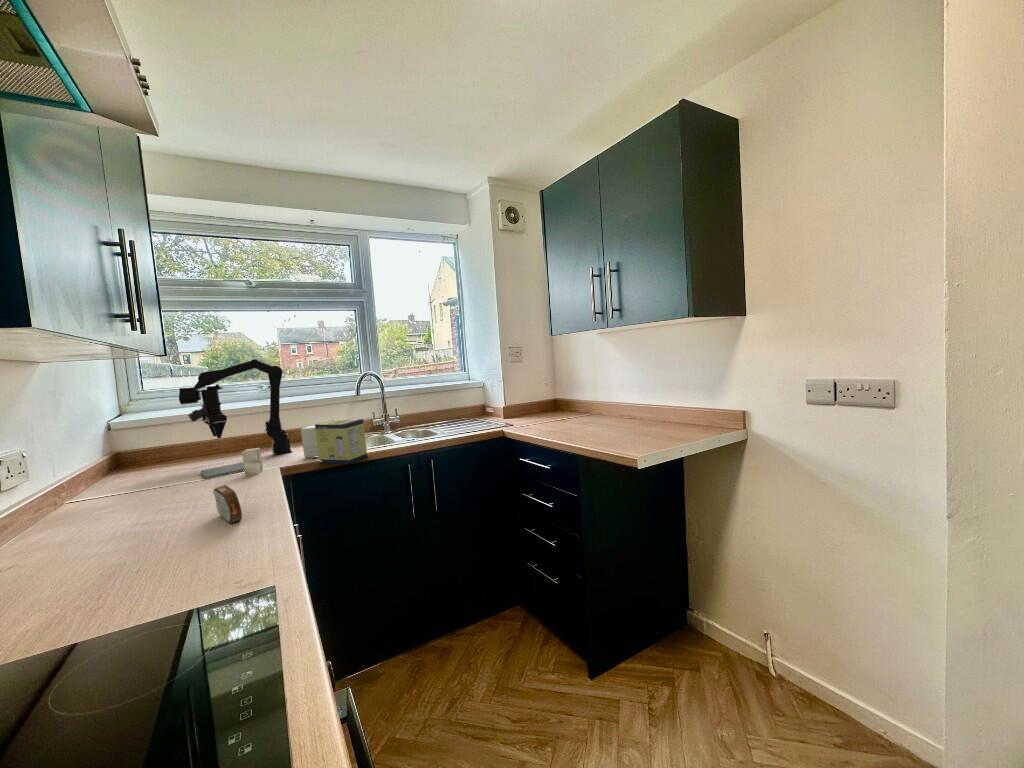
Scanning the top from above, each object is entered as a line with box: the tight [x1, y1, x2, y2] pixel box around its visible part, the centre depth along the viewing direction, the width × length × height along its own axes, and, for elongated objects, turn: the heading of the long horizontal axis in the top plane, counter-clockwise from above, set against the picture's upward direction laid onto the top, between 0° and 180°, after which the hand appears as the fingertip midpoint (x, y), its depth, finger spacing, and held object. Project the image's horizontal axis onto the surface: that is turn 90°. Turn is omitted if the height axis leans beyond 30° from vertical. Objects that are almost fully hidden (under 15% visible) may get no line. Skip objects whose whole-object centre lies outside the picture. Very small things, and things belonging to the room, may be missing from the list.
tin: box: [213, 484, 243, 524], centre depth 113 cm, size 15×3×8 cm, turn 47°
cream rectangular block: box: [241, 447, 264, 476], centre depth 160 cm, size 4×4×9 cm
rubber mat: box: [200, 461, 244, 479], centre depth 167 cm, size 14×14×1 cm
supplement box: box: [300, 424, 319, 458], centre depth 182 cm, size 7×7×13 cm
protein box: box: [314, 418, 368, 465], centre depth 170 cm, size 10×16×16 cm
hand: (217, 437), depth 182 cm, fingers open, 9 cm apart
